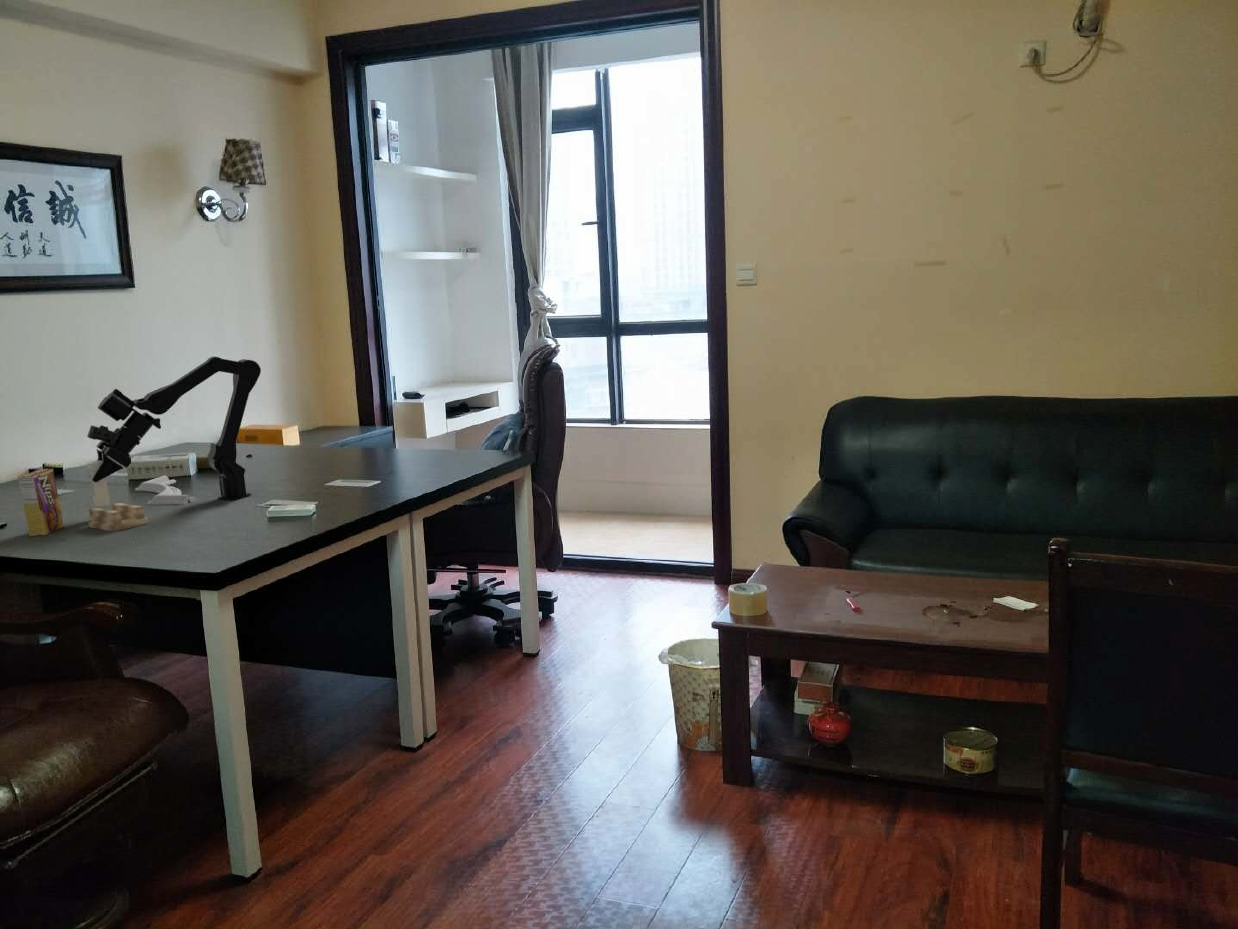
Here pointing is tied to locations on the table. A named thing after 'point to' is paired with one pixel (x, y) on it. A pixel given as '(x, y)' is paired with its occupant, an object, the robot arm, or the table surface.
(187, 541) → the table surface
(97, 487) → the grey upright slab
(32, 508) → the candy box
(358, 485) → the table surface
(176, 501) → the molding
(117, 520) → the stand
